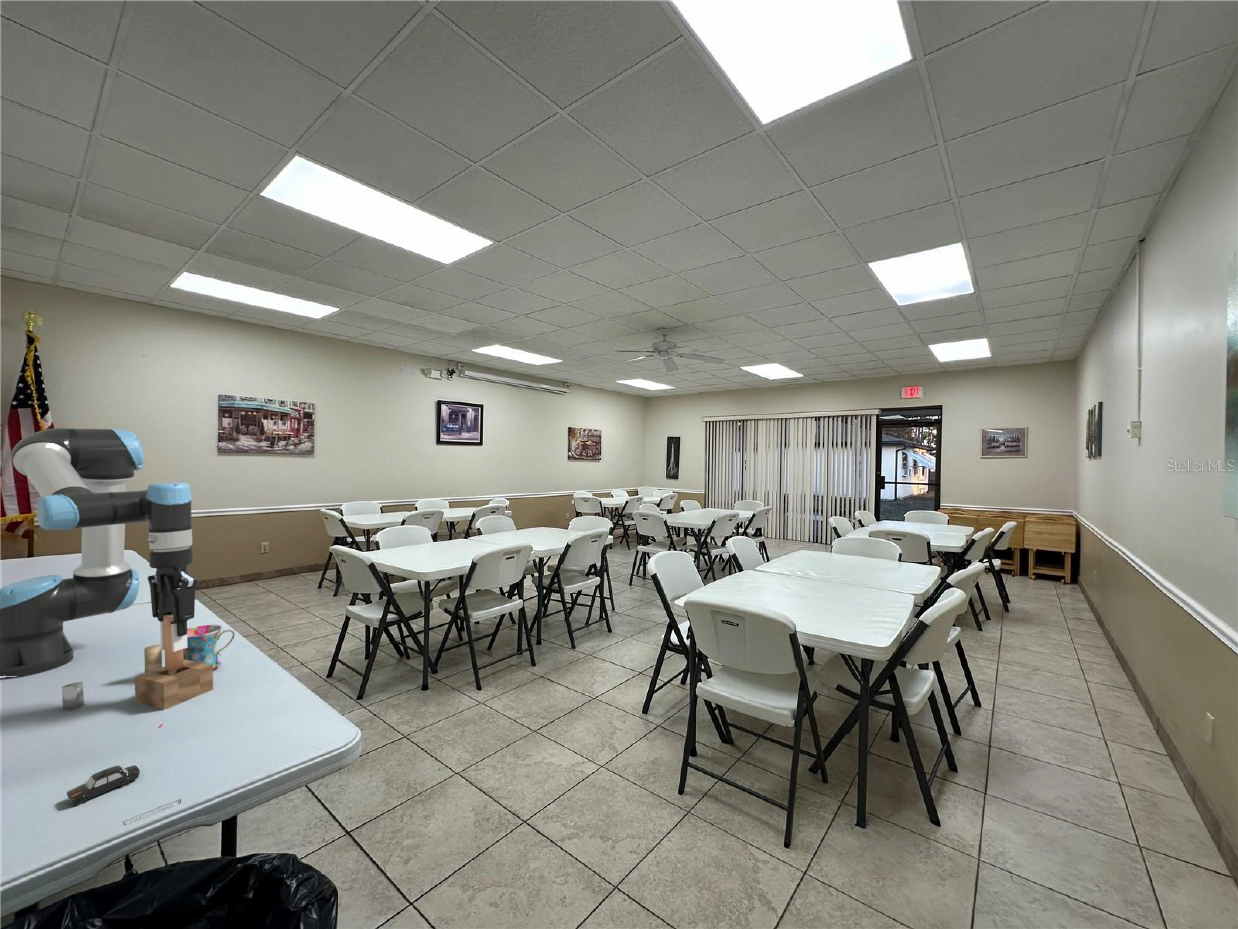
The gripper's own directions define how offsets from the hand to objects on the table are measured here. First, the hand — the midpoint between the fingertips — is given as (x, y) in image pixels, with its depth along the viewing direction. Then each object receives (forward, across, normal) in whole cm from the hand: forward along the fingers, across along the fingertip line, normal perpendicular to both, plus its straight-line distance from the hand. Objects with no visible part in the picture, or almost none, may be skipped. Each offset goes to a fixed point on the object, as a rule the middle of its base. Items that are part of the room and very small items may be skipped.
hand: (174, 648), depth 116 cm
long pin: (+4, 0, 0) cm, 4 cm away
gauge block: (+11, 0, 0) cm, 11 cm away
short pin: (+11, -16, -10) cm, 22 cm away
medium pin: (+11, -16, +5) cm, 20 cm away
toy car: (+12, +27, -24) cm, 38 cm away
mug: (+11, -9, +12) cm, 19 cm away
